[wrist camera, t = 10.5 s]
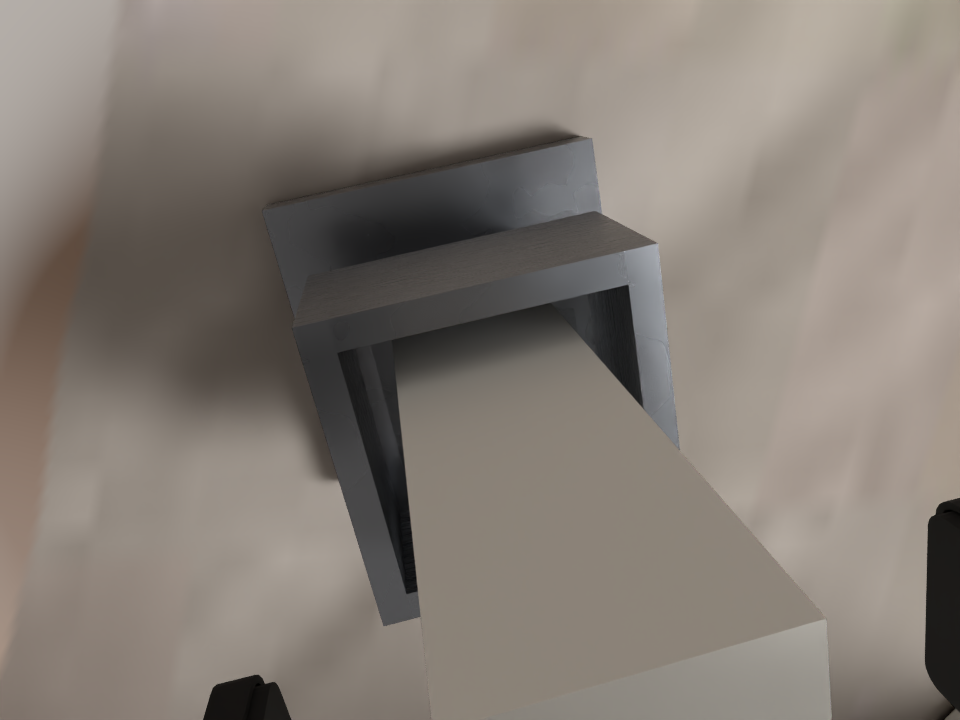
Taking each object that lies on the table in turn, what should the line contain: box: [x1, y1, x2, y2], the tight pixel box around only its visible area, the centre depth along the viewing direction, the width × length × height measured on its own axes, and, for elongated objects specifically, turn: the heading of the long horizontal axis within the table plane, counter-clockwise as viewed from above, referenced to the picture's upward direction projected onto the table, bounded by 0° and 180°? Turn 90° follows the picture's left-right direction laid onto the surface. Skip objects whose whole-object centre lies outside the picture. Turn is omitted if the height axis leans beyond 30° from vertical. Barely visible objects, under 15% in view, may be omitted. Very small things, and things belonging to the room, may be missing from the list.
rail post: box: [392, 303, 832, 720], centre depth 13 cm, size 4×4×12 cm
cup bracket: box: [262, 136, 680, 626], centre depth 20 cm, size 10×10×10 cm
